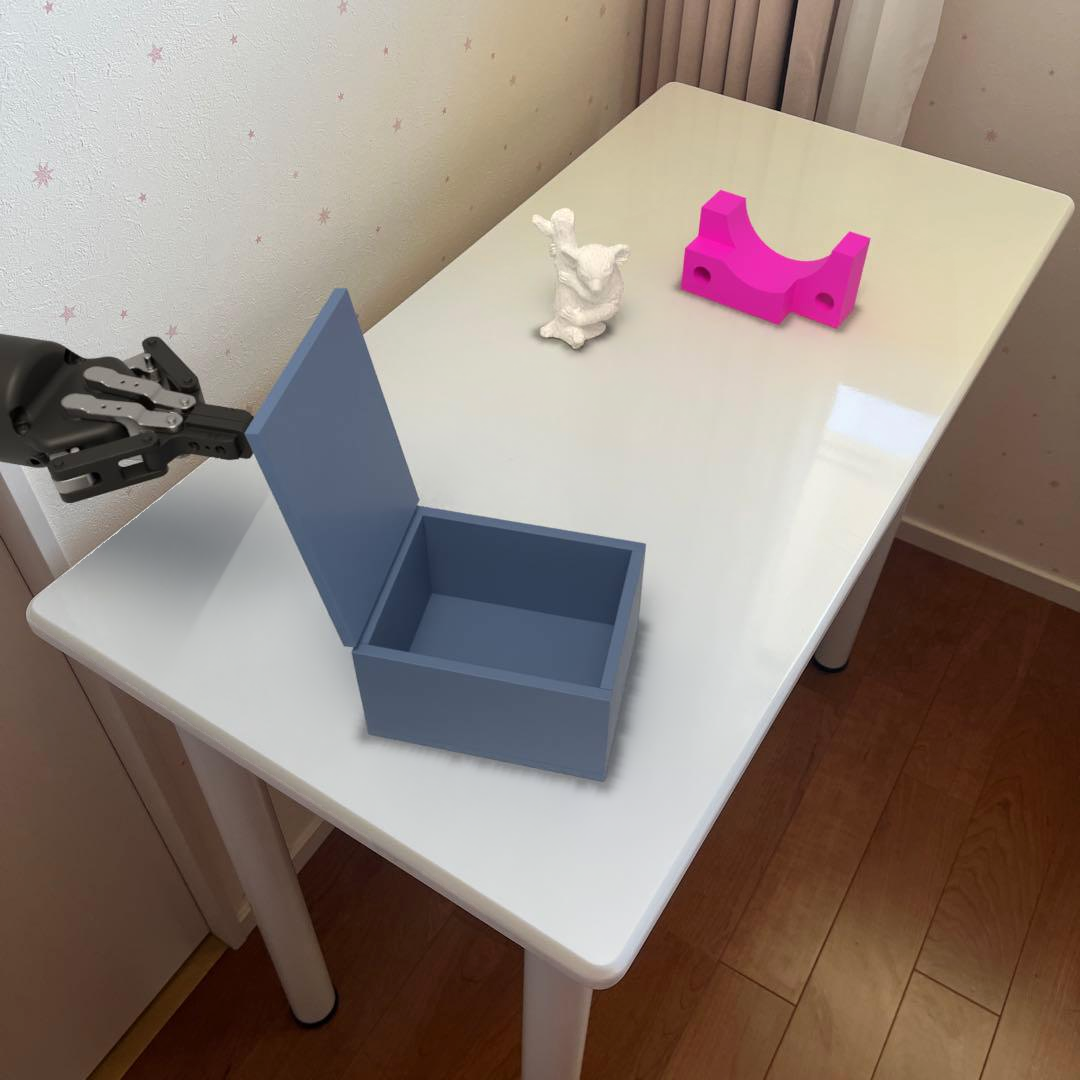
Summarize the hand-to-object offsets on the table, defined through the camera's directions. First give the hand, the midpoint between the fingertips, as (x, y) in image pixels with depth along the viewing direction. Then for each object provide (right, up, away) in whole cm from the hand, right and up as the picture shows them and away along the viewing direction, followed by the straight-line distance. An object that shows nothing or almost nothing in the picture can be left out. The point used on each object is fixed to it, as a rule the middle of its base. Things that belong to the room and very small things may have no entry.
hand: (253, 437), depth 63 cm
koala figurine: (+20, +13, +38) cm, 45 cm away
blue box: (+14, -15, +12) cm, 24 cm away
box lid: (+6, -2, 0) cm, 6 cm away
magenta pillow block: (+38, +17, +42) cm, 59 cm away
